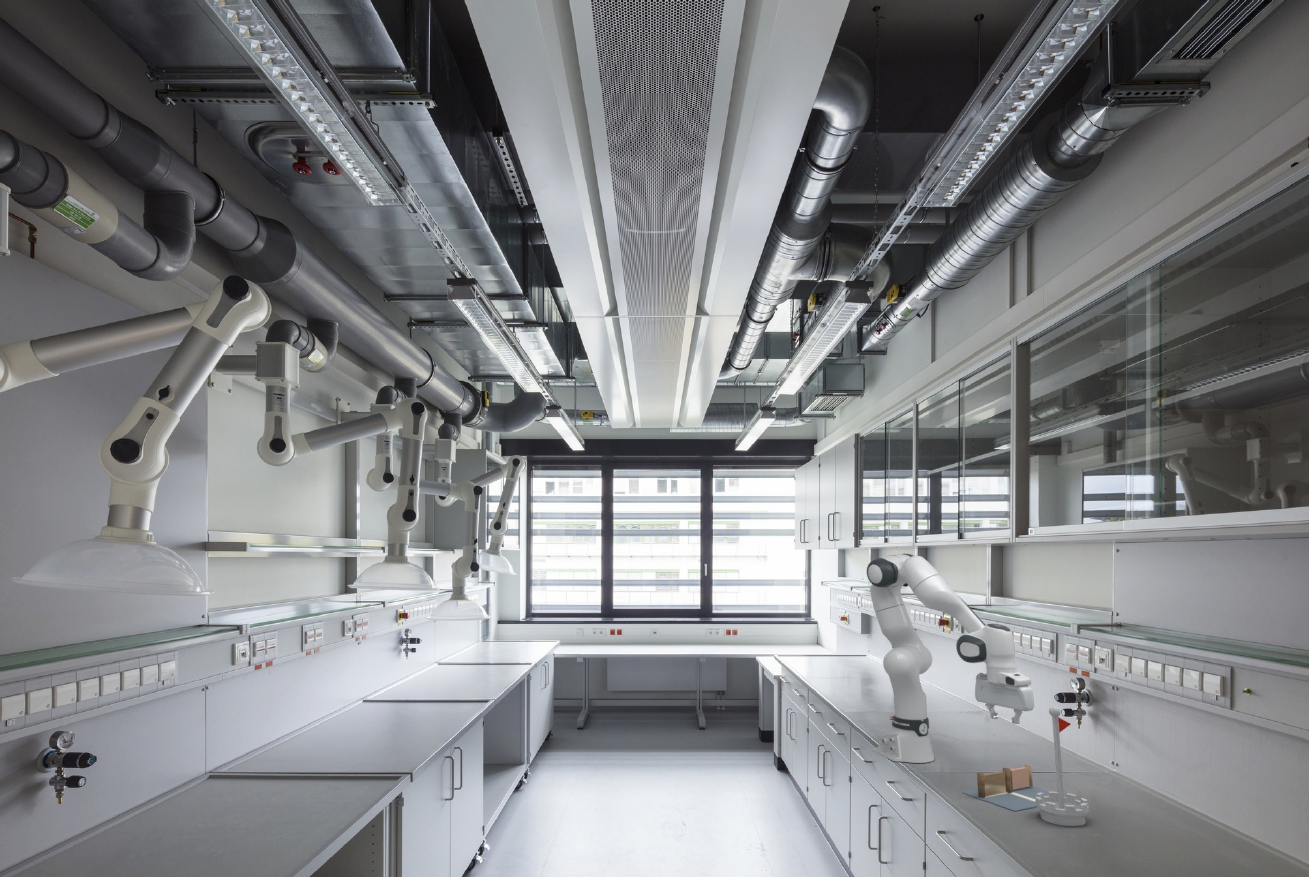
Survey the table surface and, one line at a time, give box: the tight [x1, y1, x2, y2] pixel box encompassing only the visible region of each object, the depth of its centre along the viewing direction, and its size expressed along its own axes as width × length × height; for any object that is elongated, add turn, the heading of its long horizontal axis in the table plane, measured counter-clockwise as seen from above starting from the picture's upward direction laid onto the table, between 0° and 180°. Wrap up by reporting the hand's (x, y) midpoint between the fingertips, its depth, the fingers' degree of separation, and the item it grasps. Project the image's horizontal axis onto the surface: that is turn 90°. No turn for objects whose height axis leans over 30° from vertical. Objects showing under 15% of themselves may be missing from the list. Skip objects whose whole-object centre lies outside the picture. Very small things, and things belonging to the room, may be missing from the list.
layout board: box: [962, 786, 1049, 813], centre depth 236 cm, size 19×24×1 cm
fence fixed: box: [976, 767, 1012, 798], centre depth 237 cm, size 2×13×7 cm, turn 116°
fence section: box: [1009, 764, 1034, 790], centre depth 242 cm, size 2×9×6 cm, turn 116°
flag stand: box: [1035, 705, 1090, 827], centre depth 218 cm, size 13×13×30 cm
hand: (1004, 720), depth 250 cm, fingers open, 7 cm apart
